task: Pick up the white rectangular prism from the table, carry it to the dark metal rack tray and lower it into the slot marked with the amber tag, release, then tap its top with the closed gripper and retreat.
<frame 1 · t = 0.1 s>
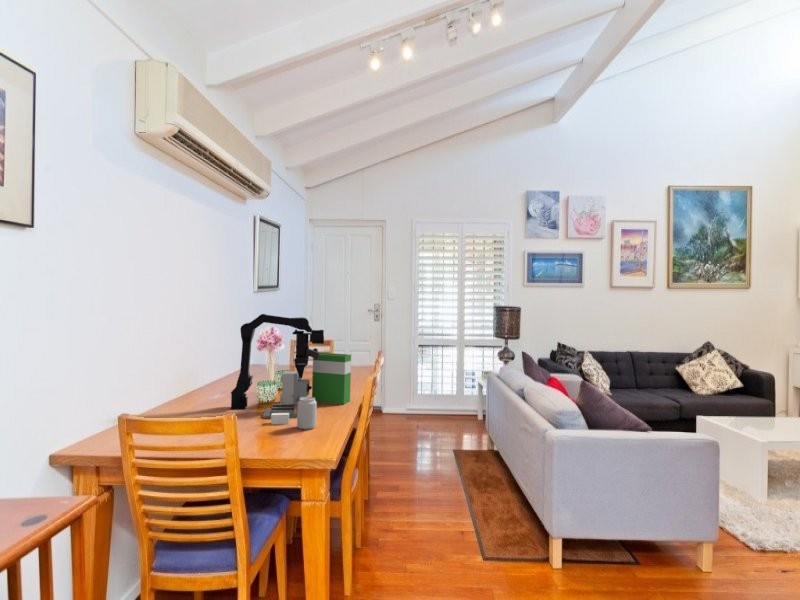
hand: (301, 376, 215), 15 cm above the table, fingers open, 9 cm apart
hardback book: (330, 402, 228), on the table
can: (306, 428, 181), on the table
white rectangular prism: (280, 423, 187), on the table
circuit breaker: (296, 403, 223), on the table
rack: (282, 414, 201), on the table
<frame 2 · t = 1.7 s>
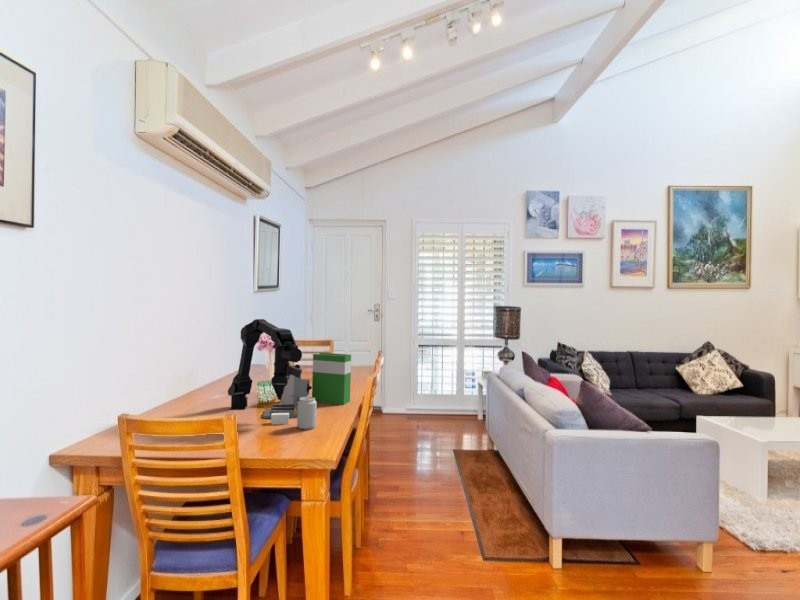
hand: (280, 397, 187), 11 cm above the table, fingers open, 9 cm apart
nothing on the table moved.
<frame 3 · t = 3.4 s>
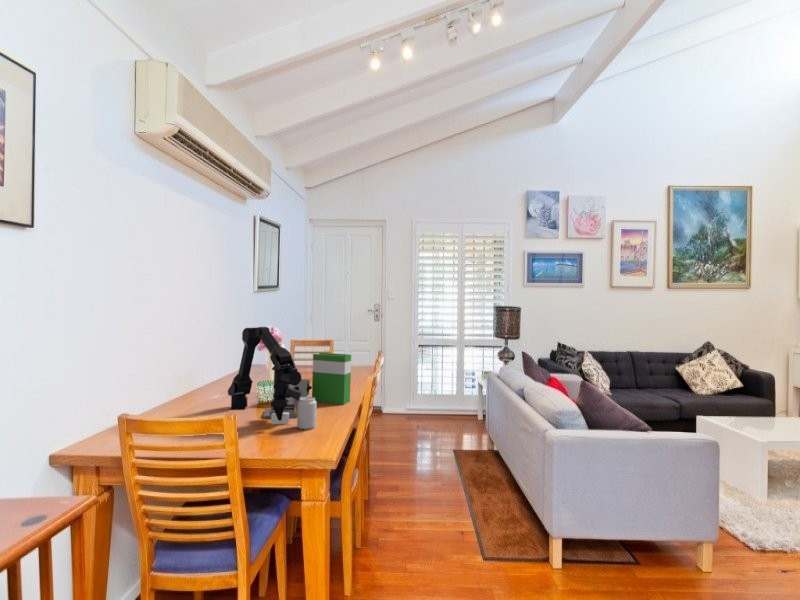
hand: (280, 419, 187), 2 cm above the table, fingers closed on white rectangular prism, 3 cm apart
white rectangular prism: (280, 423, 187), on the table, touching gripper
everything else where it was.
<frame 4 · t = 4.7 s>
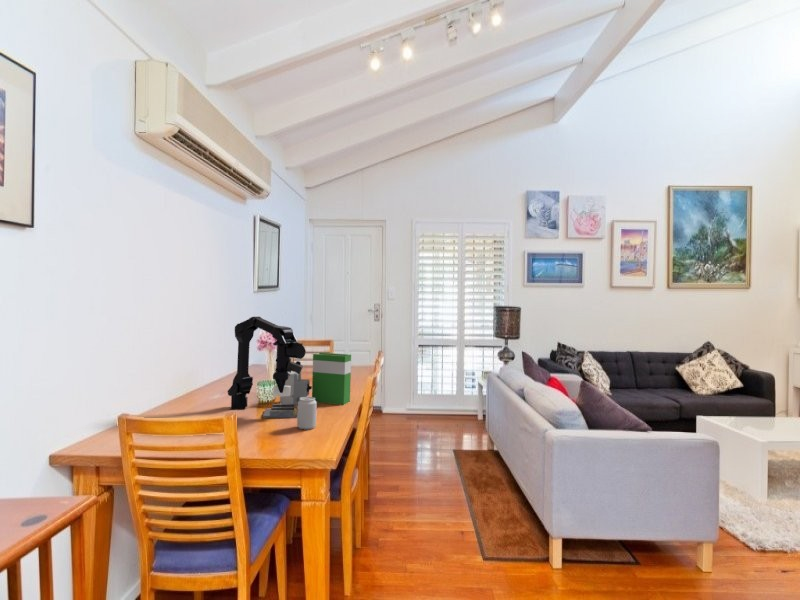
hand: (281, 391, 196), 11 cm above the table, fingers closed on white rectangular prism, 3 cm apart
white rectangular prism: (281, 395, 196), point 9 cm above the table, touching gripper
everything else where it was.
when the fingers open (4 cm above the table, at t = 6.5 s): white rectangular prism drops 1 cm, resting on rack.
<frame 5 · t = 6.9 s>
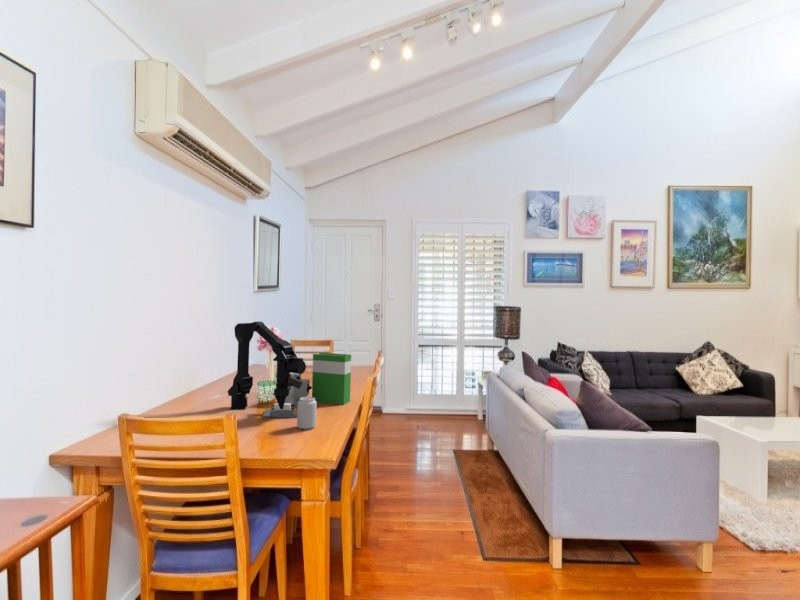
hand: (282, 406, 198), 4 cm above the table, fingers open, 8 cm apart
white rectangular prism: (282, 413, 198), point 1 cm above the table, touching rack
everything else where it was.
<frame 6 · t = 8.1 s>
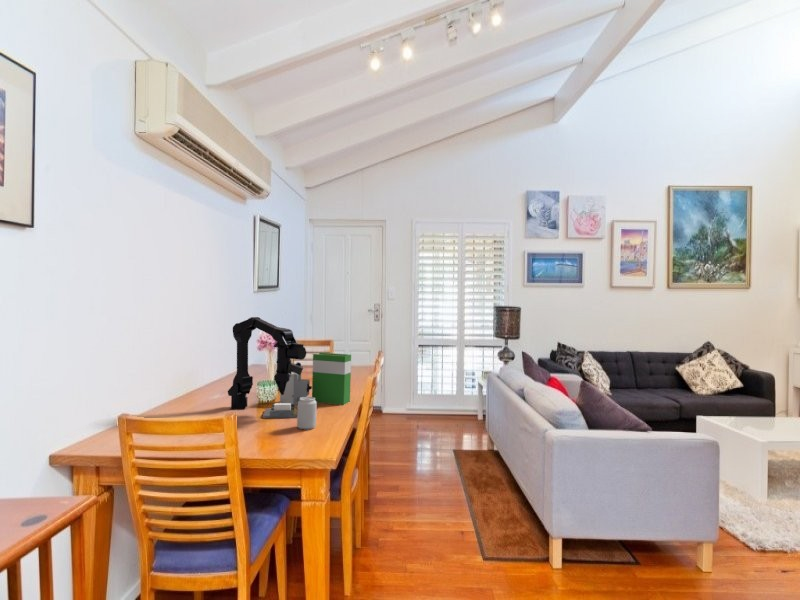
hand: (282, 393, 198), 10 cm above the table, fingers open, 6 cm apart
nothing on the table moved.
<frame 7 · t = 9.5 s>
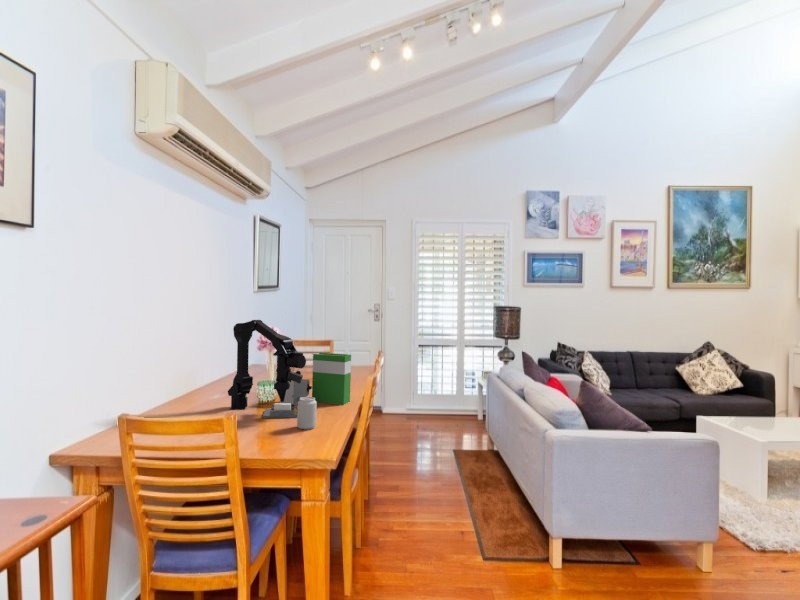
hand: (282, 401, 198), 6 cm above the table, fingers closed
nothing on the table moved.
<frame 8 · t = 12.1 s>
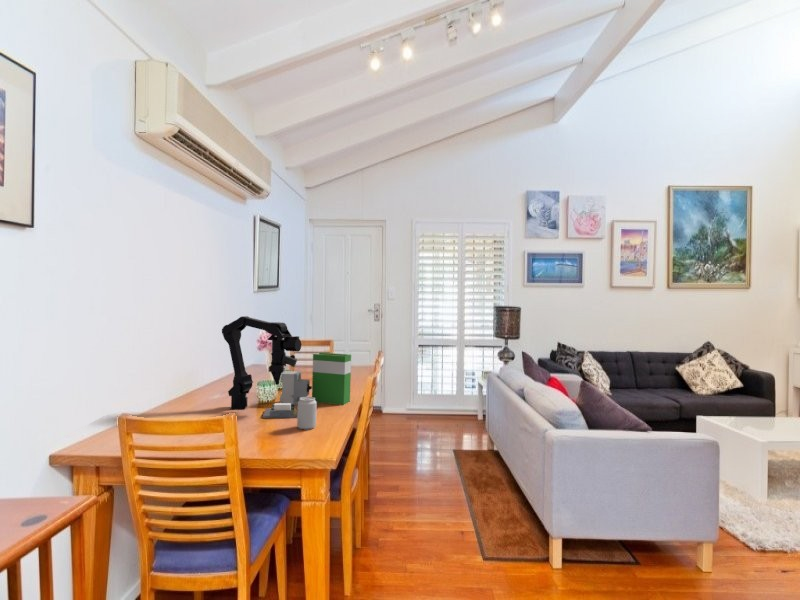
hand: (277, 384, 204), 12 cm above the table, fingers closed
nothing on the table moved.
at the end: white rectangular prism 0.0 cm from the target spot on the rack, point 1.2 cm above the rack's base; white rectangular prism tilted 0°; the gripper is holding nothing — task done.
